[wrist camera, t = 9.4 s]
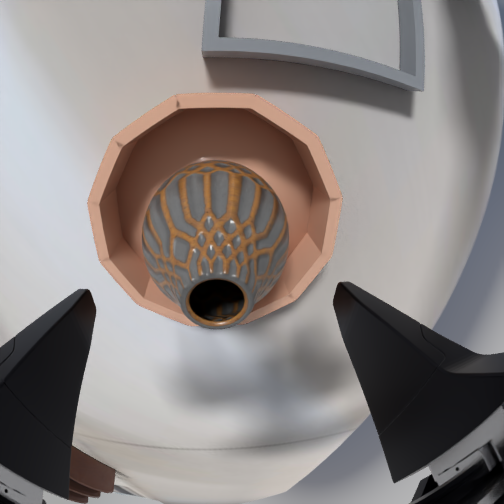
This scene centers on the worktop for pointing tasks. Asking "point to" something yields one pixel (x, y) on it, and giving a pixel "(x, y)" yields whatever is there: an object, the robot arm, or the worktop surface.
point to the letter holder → (88, 477)
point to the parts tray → (404, 78)
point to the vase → (215, 241)
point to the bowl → (214, 148)
